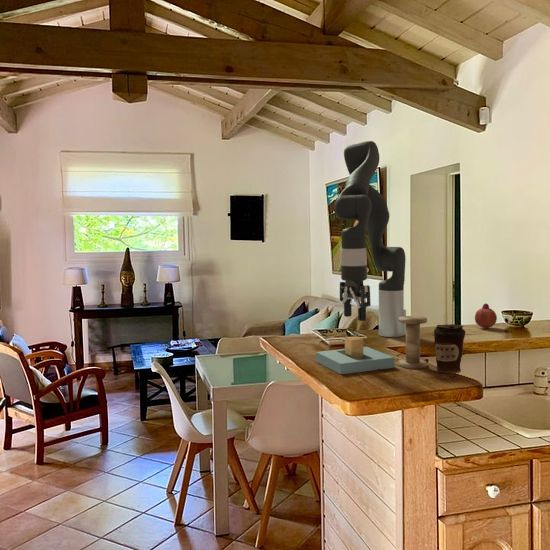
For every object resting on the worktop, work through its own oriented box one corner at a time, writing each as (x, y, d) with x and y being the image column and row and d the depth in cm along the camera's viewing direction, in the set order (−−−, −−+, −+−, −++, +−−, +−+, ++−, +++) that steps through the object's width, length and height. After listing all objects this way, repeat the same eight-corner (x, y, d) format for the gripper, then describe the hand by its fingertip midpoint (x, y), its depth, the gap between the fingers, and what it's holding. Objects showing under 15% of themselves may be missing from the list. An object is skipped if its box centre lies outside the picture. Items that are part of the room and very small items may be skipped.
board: (366, 355, 171) (366, 346, 171) (394, 367, 156) (394, 357, 156) (316, 361, 165) (316, 352, 165) (340, 374, 150) (340, 363, 150)
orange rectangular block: (356, 362, 163) (356, 336, 162) (363, 365, 159) (363, 338, 158) (345, 363, 161) (344, 337, 161) (351, 367, 158) (351, 340, 157)
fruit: (470, 327, 215) (470, 302, 214) (488, 326, 217) (488, 301, 216) (482, 331, 207) (483, 305, 207) (501, 329, 209) (501, 304, 209)
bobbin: (416, 360, 163) (416, 315, 162) (432, 366, 156) (432, 319, 155) (393, 363, 160) (393, 317, 159) (409, 369, 153) (409, 321, 152)
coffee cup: (460, 377, 145) (460, 329, 144) (429, 373, 149) (429, 327, 148) (467, 369, 152) (468, 324, 151) (438, 366, 156) (438, 322, 155)
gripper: (377, 264, 152) (378, 321, 154) (353, 261, 166) (354, 313, 167) (354, 266, 150) (355, 323, 151) (331, 263, 163) (332, 316, 165)
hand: (354, 318), depth 159 cm, fingers open, 8 cm apart
